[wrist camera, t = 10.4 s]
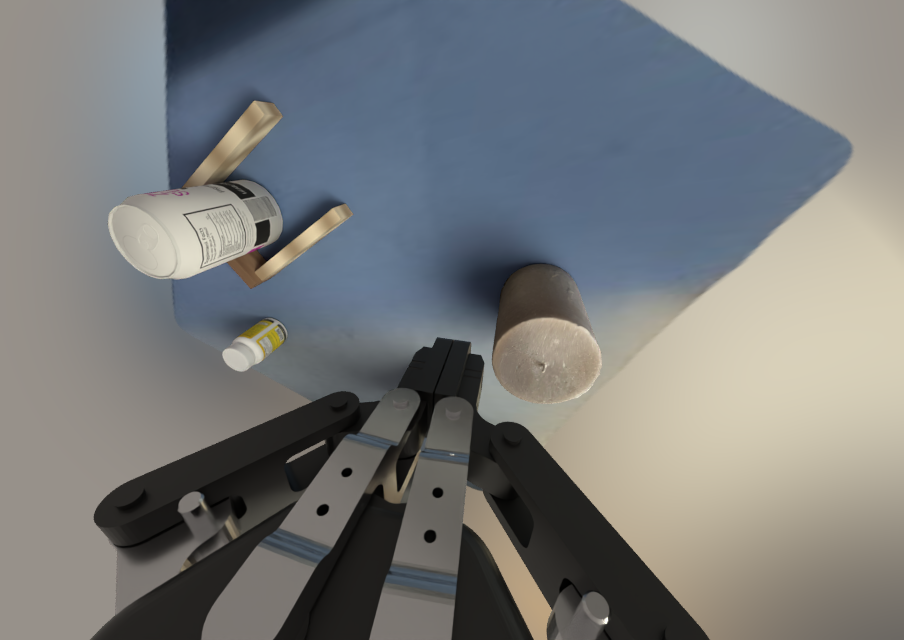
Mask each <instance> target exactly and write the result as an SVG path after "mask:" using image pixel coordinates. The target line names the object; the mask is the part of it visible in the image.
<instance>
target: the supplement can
mask: <svg viewBox="0 0 904 640" xmlns="http://www.w3.org/2000/svg"><path fill="white" fill-rule="evenodd" d="M108 227H109V231H110V235H111V238H112V240H113V241H114V243H115V245H116V247H117V249H118V250H119V252H120V253H121V254H122V255H123V256H124V258H125V259H126V260H127V261H128V262H129V263H130V264H131V265H133V266H134V267H135V268H136V269H137V270H139V271H140V272H142V273H144V274H146V275H148V276H149V277H154V278H158V279H164V278H168V279H183V278H189V277H191V276H193V275H196V274H198V273H201V272H203V271H206V270H208V269H211V268H213V267H216V266H218V265H221V264H223V263H225V262H228V261H230V260H233V259H235V258H238V257H240V256H243V255H245V254H248V253H250V252H253V251H255V250H257V249H260V248H262V247H265V246H267V245H270V244H272V243H273V242H275V241H276V240H277V239H279V237H280V234H281V232H282V227H283V219H282V215H281V211H280V208H279V206H278V205H277V203H276V201H275V199H274V198H273V196H272V195H271V194H270V193H269V192H268V191H267V190H266V189H265V188H264V187H262V186H260V185H258V184H257V183H255V182H253V181H248V180H237V181H230V182H223V183H216V184H209V185H202V186H195V187H188V188H181V189H174V190H166V191H159V192H153V193H145V194H138V195H134V196H131V197H127V198H126V199H125V200H124V201H123V202H122V203H121V204H120V205H119V206H117V207H114V208H113V210H112V211H111V212H110V213H109V218H108Z"/></svg>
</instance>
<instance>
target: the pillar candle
mask: <svg viewBox="0 0 904 640" xmlns="http://www.w3.org/2000/svg"><path fill="white" fill-rule="evenodd" d="M492 366H493V369H494V372H495V375H496V377H497V379H498V380H499V382H500V383H501V385H502V386H503V387H504V388H505V389H506V390H507V391H509V392H510V393H511V394H513V395H514V396H516V397H518V398H520V399H523V400H526V401H529V402H533V403H541V404H552V403H560V402H564V401H568V400H570V399H573V398H578V397H580V396H581V395H582V394H583V393H585V392H587V391H588V390H589V389H590V387H591V386H593V383H594V381H595V380H596V378H597V377H598V376H599V374H600V372H599V370H600V368H601V367H602V362H601V351H600V348H599V346H598V343H597V341H596V338H595V336H594V333H593V330H592V327H591V324H590V321H589V318H588V315H587V313H586V309H585V306H584V304H583V301H582V298H581V295H580V292H579V290H578V287H577V285H576V283H575V281H574V280H573V279H572V277H571V276H570V275H569V274H568V273H567V272H565V271H563V270H562V269H561V268H559V267H556V266H553V265H548V264H534V265H529V266H526V267H523V268H521V269H519V270H517V271H516V272H514V273H513V274H512V275H511V276H510V277H509V278H508V279H507V280H506V282H505V284H504V287H503V288H502V290H501V295H500V305H499V312H498V318H497V324H496V331H495V338H494V345H493V353H492Z"/></svg>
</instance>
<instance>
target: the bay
mask: <svg viewBox="0 0 904 640" xmlns="http://www.w3.org/2000/svg"><path fill="white" fill-rule="evenodd" d="M282 117H283V116H282V114H281V113H280V112H279V110H278V109H277V107H276V106H275V105H274V103H267V102H260V101H253V103H252V104H251V105H250V106H249V107H248V109H247V110H246V111H245V112H244V113H243V115H242V116H241V117H240V118H239V119H238V121H237V122H236V123H235V124H234V125H233V127H232V128H231V129H230V130H229V131H228V133H227V134H226V135H225V136H224V137H223V139H222V140H221V141H220V142H219V144H218V145H217V146H216V147H215V148H214V150H213V151H212V152H211V153H210V154H209V156H208V157H207V158H206V159H205V160H204V162H203V163H202V164H201V165H200V166H199V168H198V169H197V170H196V171H195V172H194V174H193V175H192V176H191V177H190V178H189V180H188V181H187V182H186V183H185V184H184V186H183V187H182V188H188V187H195V186H202V185H209V184H216V183H223V182H224V181H225V180H226V178H227V177H228V176H229V175H230V174H231V173H232V172H233V171H234V170H235V169H236V168H237V166H238V165H239V164H240V163H241V162H242V161H243V160H244V159H245V158H246V157H247V155H248V154H249V153H250V152H251V151H252V150H253V149H254V148H255V147H256V146H257V144H258V143H259V142H260V141H261V140H262V139H263V138H264V137H265V136H266V135H267V134H268V132H269V131H270V130H271V129H272V128H273V127H274V126H275V125H276V124H277V123H278V121H279V120H280V119H281V118H282ZM352 215H353V213H352V212H351V211H350V209H349V208H348V206H347V205H346V204H343V205H340V206H337V207H335V208H332V209H331V210H330V211H329V212H328V213H326V214H325V215H324V216H323V217H321V218H320V219H319V220H318V221H317V222H315V223H314V224H313V225H312V226H310V227H309V228H308V229H307V230H306V231H304V232H303V233H302V234H301V235H299V236H298V237H297V238H296V239H295V240H293V241H292V242H291V243H290V244H288V245H287V246H286V247H285V248H283V249H282V250H281V251H280V252H279V253H277V254H276V255H275V256H274V257H272V258H271V259H270V260H269V261H268V262H267V261H266V260H265V259H264V258H263V257H262V256H261V254H260V253H259V252H258V251H257V250H255V251H253V252H250V253H248V254H245V255H243V256H240V257H238V258H235V259H233V260H230V261H228V262H227V263H228V264H229V265H230V266H231V267H232V269H233V270H234V271H235V272H236V273H237V274H238V275H239V276H240V277H241V279H242V280H243V281H244V282H245V283H246V284H247V285H248V286H249V287H250V289H252V288H254V287H256V286H257V285H259V284H261V283H263V282H265V281H267V280H269V279H270V278H272V277H273V276H274V275H276V274H277V273H278V272H280V271H281V270H282V269H283V268H285V267H286V266H287V265H289V264H290V263H291V262H292V261H294V260H295V259H296V258H298V257H299V256H300V255H302V254H303V253H304V252H305V251H307V250H308V249H309V248H311V247H312V246H313V245H314V244H316V243H317V242H318V241H320V240H321V239H322V238H323V237H325V236H326V235H327V234H329V233H330V232H331V231H333V230H334V229H335V228H336V227H338V226H339V225H340V224H342V223H343V222H344V221H345V220H347V219H348V218H349V217H351V216H352Z"/></svg>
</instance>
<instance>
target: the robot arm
mask: <svg viewBox="0 0 904 640" xmlns="http://www.w3.org/2000/svg"><path fill="white" fill-rule="evenodd" d="M483 372H484V361H483V359H482V356H481V355H476V354H471V342H466V341H459V340H452V339H445V338H438V337H437V339H436V341H435V343H434V345H433V347H432V348H429V347H423V348H422V349H420V350H419V351H417V352H416V353H415V355H414V357H413V359H412V362H411V363H410V365H409V368H407V370H406V372H405V374H404V376H403V378H402V380H401V382H400V384H399V385H398V387H397V389H393V390H391V391H389V392H388V393H386V394H385V395H384V397H383V398H382V400H381V401H376V402H364V403H359V398H358V397H357V396H356V395H355V394H353V393H351V392H346V391H341V392H336V393H332V394H330V395H328V396H325V397H323V398H321V399H318V400H316V401H314V402H311V403H309V404H307V405H305V406H302V407H300V408H297V409H295V410H293V411H290V412H288V413H286V414H284V415H281V416H279V417H277V418H274V419H272V420H270V421H267V422H265V423H263V424H260V425H258V426H256V427H253V428H251V429H249V430H247V431H244V432H242V433H239V434H237V435H235V436H232V437H230V438H228V439H225V440H223V441H221V442H219V443H216V444H214V445H212V446H209V447H207V448H205V449H202V450H200V451H198V452H195V453H193V454H191V455H188V456H186V457H184V458H181V459H179V460H177V461H175V462H172V463H170V464H167V465H165V466H163V467H161V468H158V469H156V470H154V471H151V472H149V473H147V474H144V475H142V476H140V477H137V478H135V479H133V480H130V481H128V482H126V483H124V484H123V485H121V486H119V487H118V488H116V489H115V490H113V491H112V492H111V493H110V494H109V495H107V496H106V497H105V498H104V499H103V501H102V502H101V503H100V504H99V506H98V507H97V509H96V511H95V514H94V522H95V523H96V525H97V526H98V527H99V528H100V529H101V530H102V531H103V533H104V534H105V535H106V536H107V537H108V538H109V543H110V544H111V545H112V546H113V548H114V549H115V550H116V551H117V576H116V613H115V616H114V617H113V618H112V619H111V620H110V621H108V622H107V623H106V624H105V625H104V626H103V627H102V628H101V629H100V630H99V631H98V632H97V633H96V634H95V635H94V636H93V637H92V638H91V639H90V640H534V639H533V637H532V635H531V633H530V631H529V629H528V627H527V625H526V623H525V621H524V619H523V617H522V615H521V613H520V611H519V609H518V607H517V605H516V603H515V601H514V599H513V597H512V595H511V593H510V591H509V589H508V587H507V585H506V583H505V581H504V578H503V577H502V575H501V572H500V571H499V568H498V566H497V564H496V562H495V560H494V558H493V557H492V554H491V553H490V551H489V549H488V548H487V546H486V545H485V543H484V542H483V541H482V540H481V538H480V537H479V536H478V535H477V534H476V533H475V532H474V531H473V530H472V529H470V528H469V527H468V526H466V525H465V524H463V514H464V504H465V503H464V502H465V493H466V483H467V480H468V481H469V482H471V483H473V484H475V485H476V486H478V487H480V488H482V489H483V493H484V496H485V498H486V500H487V502H488V503H489V505H490V507H491V508H492V510H493V512H494V513H495V515H496V517H497V518H498V520H499V522H500V523H501V525H502V526H503V528H504V530H505V532H506V533H507V535H508V537H509V538H510V540H511V542H512V543H513V545H514V547H515V548H516V550H517V552H518V553H519V555H520V557H521V559H522V560H523V562H524V564H525V565H526V567H527V568H528V570H529V572H530V574H531V575H532V577H533V579H534V580H535V582H536V583H537V585H538V587H539V589H540V590H541V592H542V594H543V595H544V597H545V599H546V600H547V602H548V604H549V605H550V607H551V609H552V612H551V614H550V617H549V619H548V623H547V639H548V640H709V638H708V637H707V635H706V634H705V632H704V631H703V630H702V629H701V627H700V626H699V625H698V624H697V623H696V622H695V621H694V619H693V618H692V617H691V616H690V615H689V614H688V612H687V611H686V610H685V609H684V608H683V607H682V606H681V604H679V602H678V601H677V600H676V599H675V598H674V596H673V595H672V594H671V593H670V592H669V591H668V589H667V588H666V587H665V586H664V585H663V584H662V583H661V581H660V580H659V579H658V578H657V577H656V576H655V575H654V573H653V572H652V571H651V570H650V569H649V568H648V567H647V566H646V565H645V563H644V562H643V561H642V560H641V559H640V557H639V556H638V555H637V554H636V553H635V552H634V551H633V549H632V548H631V547H630V546H629V545H628V544H627V543H626V541H625V540H624V539H623V538H622V537H621V536H620V535H619V534H618V532H617V531H616V530H615V529H614V528H613V527H612V525H611V524H610V523H609V522H608V521H607V520H606V519H605V517H604V516H603V515H602V514H601V513H600V512H599V511H598V510H597V508H596V507H595V506H594V505H593V504H592V503H591V501H590V500H589V499H588V498H587V497H586V496H585V495H584V493H583V492H582V491H581V490H580V489H579V488H578V487H577V485H576V484H575V483H574V482H573V481H572V480H571V479H570V477H569V476H568V475H567V474H566V473H565V472H564V471H563V469H562V468H561V467H560V466H559V465H558V464H557V463H556V461H555V460H554V459H553V458H552V457H551V456H550V454H549V453H548V452H547V451H546V450H545V449H544V448H543V446H542V445H541V444H540V443H539V442H538V441H537V440H536V438H535V437H534V436H533V435H532V434H531V433H530V432H529V431H528V430H527V429H526V428H525V427H524V426H522V425H520V424H518V423H514V422H502V423H499V424H497V425H496V426H495V425H493V424H490V423H489V422H487V421H485V420H484V419H483V418H482V417H481V416H480V415H479V414H478V412H477V411H478V406H479V400H480V395H481V390H482V381H483ZM323 440H325V443H326V444H324V445H322V446H320V447H318V448H316V449H315V450H313V451H310V452H309V453H307V454H305V455H303V456H301V457H299V458H297V459H295V460H293V461H291V462H289V463H286V462H287V460H288V459H289V458H291V457H292V456H294V455H295V454H297V453H300V452H301V451H303V450H305V449H307V448H309V447H311V446H313V445H315V444H317V443H319V442H321V441H323Z"/></svg>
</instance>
